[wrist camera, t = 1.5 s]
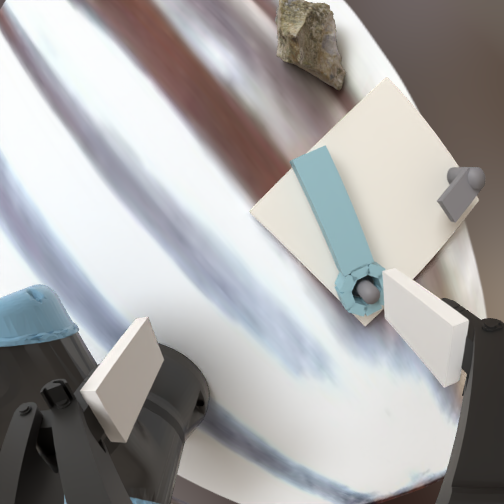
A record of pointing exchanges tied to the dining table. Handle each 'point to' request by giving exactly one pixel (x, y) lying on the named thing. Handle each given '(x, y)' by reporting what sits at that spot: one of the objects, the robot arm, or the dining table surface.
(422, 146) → the board
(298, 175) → the link
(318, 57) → the rock
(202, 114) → the dining table surface
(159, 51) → the dining table surface
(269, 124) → the dining table surface
